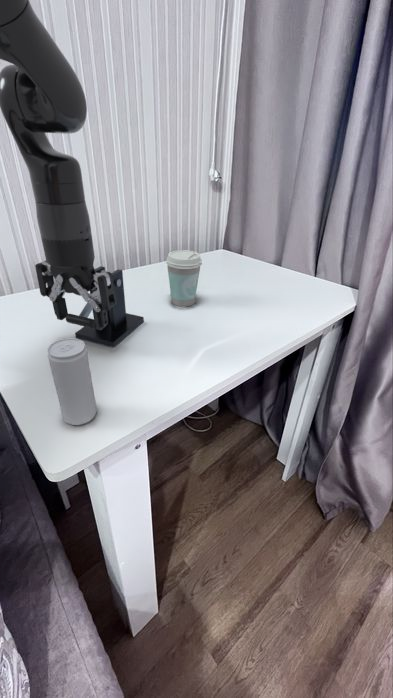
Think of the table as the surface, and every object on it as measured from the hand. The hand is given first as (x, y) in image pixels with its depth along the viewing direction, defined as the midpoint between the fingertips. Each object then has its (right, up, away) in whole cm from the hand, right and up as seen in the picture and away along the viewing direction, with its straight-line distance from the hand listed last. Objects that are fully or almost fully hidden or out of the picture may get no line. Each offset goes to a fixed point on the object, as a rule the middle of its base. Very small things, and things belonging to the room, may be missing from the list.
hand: (82, 322), depth 61 cm
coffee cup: (+18, +7, +23) cm, 30 cm away
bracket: (+3, -1, +10) cm, 10 cm away
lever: (+2, +4, +3) cm, 5 cm away
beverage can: (+4, -15, -12) cm, 19 cm away
